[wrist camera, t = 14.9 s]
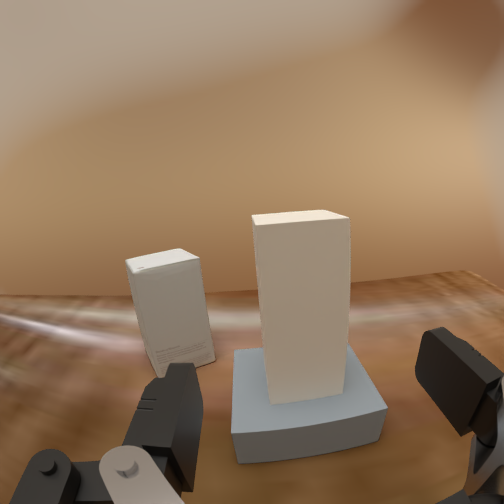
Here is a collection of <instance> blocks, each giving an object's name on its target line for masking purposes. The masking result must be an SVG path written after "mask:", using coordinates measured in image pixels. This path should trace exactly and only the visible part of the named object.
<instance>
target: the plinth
mask: <svg viewBox="0 0 504 504" xmlns="http://www.w3.org/2000/svg"><path fill="white" fill-rule="evenodd" d="M387 409H388V407H387V406H386V404H385V402H384V401H383V399H382V397H381V396H380V394H379V392H378V391H377V389H376V387H375V386H374V384H373V382H372V381H371V379H370V377H369V376H368V374H367V373H366V371H365V369H364V368H363V366H362V364H361V363H360V361H359V360H358V358H357V356H356V355H355V353H354V352H353V350H352V348H351V347H350V345H349V344H348V342H347V355H346V366H345V376H344V385H343V394H338V395H333V396H328V397H322V398H317V399H311V400H304V401H298V402H290V403H283V404H274V405H270V401H269V394H268V386H267V379H266V372H265V365H264V353H263V348H252V349H240V350H234V371H233V397H232V425H231V434H232V439H233V443H234V448H235V452H236V456H237V460H238V464H243V463H259V462H271V461H280V460H288V459H296V458H303V457H309V456H315V455H321V454H326V453H331V452H336V451H340V450H345V449H349V448H353V447H357V446H361V445H365V444H369V443H372V442H376V441H378V439H379V436H380V433H381V430H382V427H383V423H384V420H385V416H386V413H387Z"/></svg>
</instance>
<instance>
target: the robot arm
mask: <svg viewBox="0 0 504 504" xmlns="http://www.w3.org/2000/svg"><path fill="white" fill-rule="evenodd" d="M415 374H416V378H417V380H418V382H419V383H420V384H421V386H422V387H423V388H424V389H425V391H426V392H427V393H428V394H429V396H430V397H431V398H432V400H433V401H434V402H435V403H436V405H437V406H438V407H439V409H440V410H441V411H442V412H443V414H444V415H445V416H446V418H447V419H448V420H449V422H450V423H451V424H452V426H453V427H454V428H455V430H456V431H457V432H458V434H459V435H460V436H463V435H465V434H467V433H469V432H471V431H474V433H475V434H474V435H473V437H472V440H471V449H470V458H469V466H468V473H467V479H466V482H465V485H464V487H463V489H462V490H461V491H459V492H457V493H455V494H453V495H452V496H450V497H448V498H446V499H444V500H442V501H440V502H438V503H436V504H504V373H503V372H501V371H500V370H499V369H498V368H497V367H496V366H495V365H493V364H492V363H491V362H490V361H489V360H488V359H486V358H485V357H484V356H483V355H482V356H481V353H479V352H478V351H477V350H474V348H473V347H472V346H471V345H470V344H469V343H467V342H466V341H464V340H462V339H460V338H457V337H456V336H454V335H453V334H452V333H451V332H450V331H448V330H447V329H446V328H444V327H440V328H436V329H432V330H429V331H426V332H424V334H423V336H422V340H421V344H420V349H419V353H418V357H417V362H416V366H415ZM202 418H203V400H202V395H201V391H200V387H199V382H198V378H197V374H196V369H195V366H194V363H170V364H169V366H168V369H167V371H166V374H165V377H164V378H154V379H153V380H152V381H151V382H150V383H149V384H148V385H147V386H146V387H145V389H144V392H143V394H142V397H141V401H139V404H138V406H137V410H136V411H135V414H134V416H133V419H132V421H131V424H130V426H129V429H128V431H127V434H126V436H125V439H124V442H123V444H122V446H119V447H116V448H113V449H111V450H110V451H108V452H107V453H106V454H105V455H104V456H103V457H102V459H101V460H100V461H90V462H71V461H70V459H69V458H68V457H67V456H66V454H64V453H63V452H61V451H59V450H55V449H46V450H42V451H40V452H38V453H36V454H35V455H34V456H33V457H32V458H31V460H30V461H29V463H28V465H27V467H26V469H25V471H24V473H23V475H22V477H21V479H20V481H19V484H18V486H17V488H16V490H15V492H14V494H13V497H12V499H11V501H10V503H9V504H185V503H184V502H183V501H182V500H181V493H182V492H193V487H194V479H195V471H196V463H197V455H198V448H199V440H200V433H201V425H202Z"/></svg>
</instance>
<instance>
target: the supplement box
mask: <svg viewBox="0 0 504 504" xmlns="http://www.w3.org/2000/svg"><path fill="white" fill-rule="evenodd" d="M126 268H127V274H128V279H129V284H130V288H131V293H132V298H133V302H134V306H135V310H136V315H137V319H138V323H139V326H140V330H141V334H142V338H143V342H144V346H145V349H146V352H147V355H148V357H149V359H150V362H151V364H152V366H153V368H154V370H155V372H156V374H157V376H158V378H163V377H165V374H166V371H167V369H168V366H169V364H170V363H194V366H195V368H196V367H199V366H202V365H205V364H209V363H211V362H214V361H215V359H216V358H215V353H214V347H213V341H212V336H211V330H210V324H209V318H208V312H207V306H206V299H205V293H204V287H203V279H202V273H201V266H200V258H199V257H197V256H195V255H192V254H190V253H188V252H186V251H184V250H182V249H174V250H169V251H164V252H159V253H154V254H149V255H145V256H140V257H136V258H131V259H127V260H126Z"/></svg>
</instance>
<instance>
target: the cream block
mask: <svg viewBox="0 0 504 504" xmlns="http://www.w3.org/2000/svg"><path fill="white" fill-rule="evenodd" d="M252 225H253V237H254V248H255V260H256V271H257V283H258V295H259V306H260V318H261V330H262V342H263V353H264V365H265V372H266V379H267V386H268V394H269V401H270V405H274V404H283V403H290V402H298V401H304V400H311V399H317V398H322V397H328V396H333V395H338V394H343V385H344V376H345V366H346V355H347V342H348V327H349V308H350V268H351V265H350V264H351V262H350V261H351V259H350V258H351V254H350V253H351V251H350V250H351V249H350V218H349V217H346V216H343V215H339V214H336V213H333V212H330V211H327V210H311V211H297V212H284V213H272V214H261V215H252Z"/></svg>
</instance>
